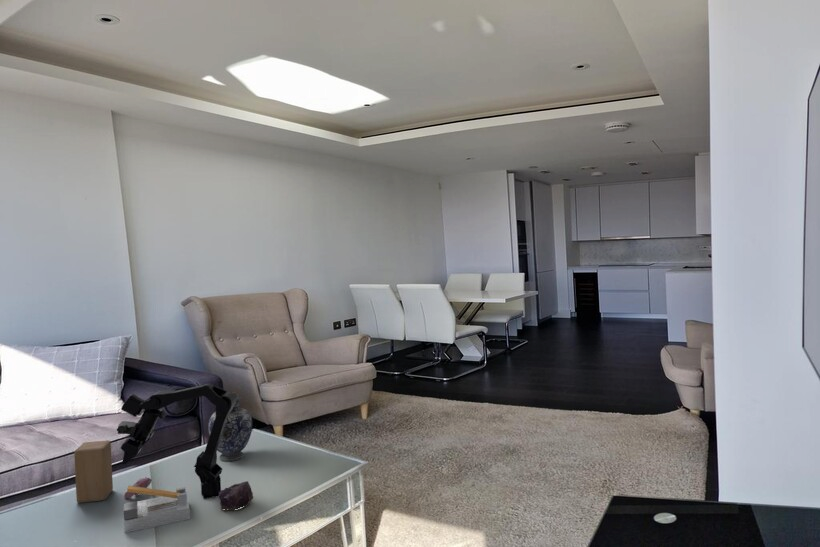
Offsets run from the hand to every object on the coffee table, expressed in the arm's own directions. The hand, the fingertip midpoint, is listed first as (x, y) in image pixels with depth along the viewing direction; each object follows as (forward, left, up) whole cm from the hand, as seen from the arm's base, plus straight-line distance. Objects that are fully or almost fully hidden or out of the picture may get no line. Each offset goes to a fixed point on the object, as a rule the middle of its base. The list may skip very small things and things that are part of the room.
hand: (128, 458), depth 210 cm
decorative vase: (-40, -23, -15) cm, 49 cm away
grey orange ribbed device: (-9, +23, -15) cm, 29 cm away
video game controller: (-3, -1, -15) cm, 15 cm away
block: (+12, -6, -15) cm, 20 cm away
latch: (-1, +26, -11) cm, 28 cm away
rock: (-35, +29, -15) cm, 48 cm away
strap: (-9, +21, -7) cm, 24 cm away
